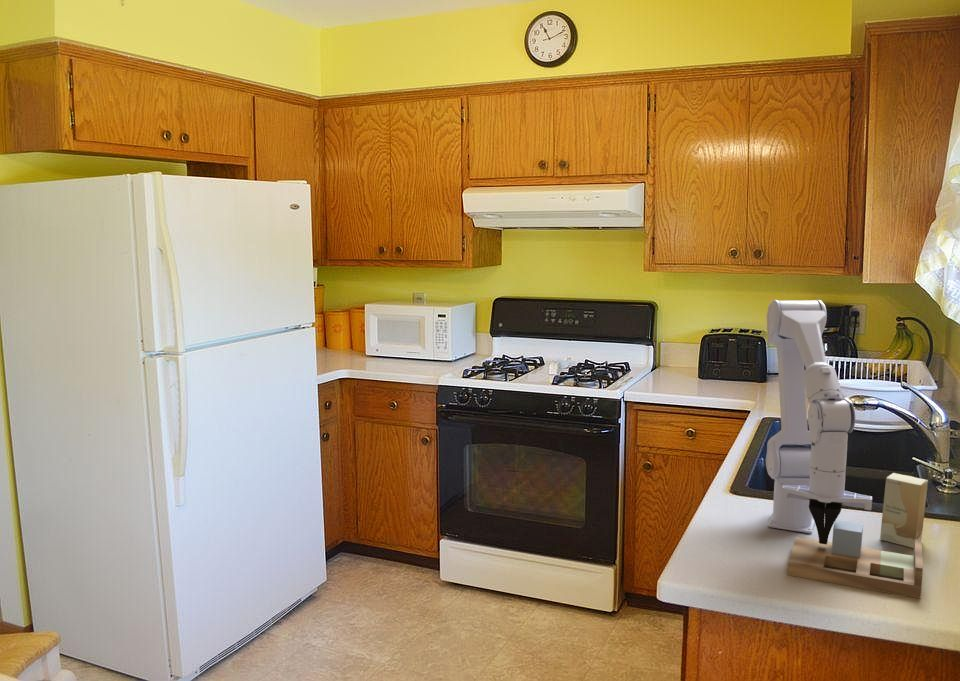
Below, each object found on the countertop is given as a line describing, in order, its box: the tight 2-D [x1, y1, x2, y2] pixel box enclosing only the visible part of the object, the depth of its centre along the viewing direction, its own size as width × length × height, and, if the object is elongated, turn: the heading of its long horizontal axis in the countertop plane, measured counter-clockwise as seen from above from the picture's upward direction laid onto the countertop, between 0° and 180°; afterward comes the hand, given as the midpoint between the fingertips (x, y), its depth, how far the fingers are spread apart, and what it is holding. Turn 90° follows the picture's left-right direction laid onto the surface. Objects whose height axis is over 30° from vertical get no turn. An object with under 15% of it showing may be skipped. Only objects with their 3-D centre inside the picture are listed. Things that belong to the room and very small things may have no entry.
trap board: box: [786, 536, 924, 599], centre depth 142 cm, size 13×20×5 cm, turn 63°
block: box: [831, 519, 864, 558], centre depth 146 cm, size 4×4×4 cm
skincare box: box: [879, 472, 929, 549], centre depth 154 cm, size 6×4×12 cm
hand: (823, 542), depth 147 cm, fingers closed
